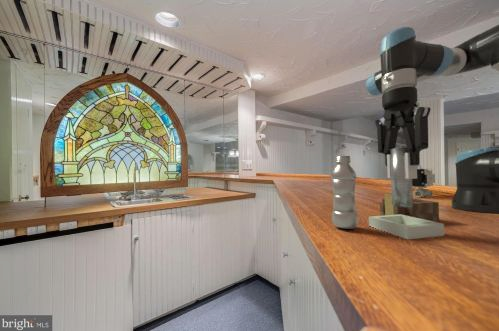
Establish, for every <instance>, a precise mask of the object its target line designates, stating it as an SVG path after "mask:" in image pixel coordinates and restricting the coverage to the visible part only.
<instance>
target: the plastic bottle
mask: <svg viewBox="0 0 499 331" xmlns="http://www.w3.org/2000/svg"><path fill="white" fill-rule="evenodd" d="M351 161H352V160H351V156H350V155H338V156H337V155H336V156H335V164H336V165H335V166H334V167H333V169H332V170H331V173H330V179H331V185H332V186H331V187H332V194H333V201H332V202H333V204H332V212H331V221H332V224H333V225H334V227H336V228H339V229H344V230H350V229H351V230H354V229H356V228H357V226H358V225H359V224H358V222H359V217H358V213H357V209H356V208H357V206H356V199H355V198H356V197H355V194H356V189H355V188H356V182H357V180H356V179H357V174H356V172H355V170H354V169H353V166H351V164H350V163H351Z"/></svg>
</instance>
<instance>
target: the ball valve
mask: <svg viewBox="0 0 499 331" xmlns="http://www.w3.org/2000/svg"><path fill="white" fill-rule="evenodd" d="M435 180H436V178H435V173H433V168H422V166H421V165H417V179H412V187H413V188H414V189H415V190H414V191H413V195H414V197H415V198H417V197H429V198H432V197H433V196H434V194H433V191H432V190H429V189H427V188H428V187H432V186H433V185H434V183H436V181H435ZM425 188H426V189H425Z"/></svg>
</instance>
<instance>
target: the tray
mask: <svg viewBox="0 0 499 331" xmlns="http://www.w3.org/2000/svg"><path fill="white" fill-rule="evenodd" d="M369 226H371V227H370V228H372V227H374V228H373V229H375V228H376V229H375V230H378V229H379V231H381V230H382V231H381V232H384V231H385V232H384V233H387V232H388V233H387V234H390V233H391V234H390V235H393V236H396V237H398V236H399V238H402V239H405V240H417V239H423V238H424V239H425V238H426V239H427V238H434V237H443V236H445V224H444V223H441V222H433V221H429V220H424V219H419V218H415V217H410V216H406V215H401V214H398V215H384V216H380V215H375V216H374V215H373V216H368V227H369Z"/></svg>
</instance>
